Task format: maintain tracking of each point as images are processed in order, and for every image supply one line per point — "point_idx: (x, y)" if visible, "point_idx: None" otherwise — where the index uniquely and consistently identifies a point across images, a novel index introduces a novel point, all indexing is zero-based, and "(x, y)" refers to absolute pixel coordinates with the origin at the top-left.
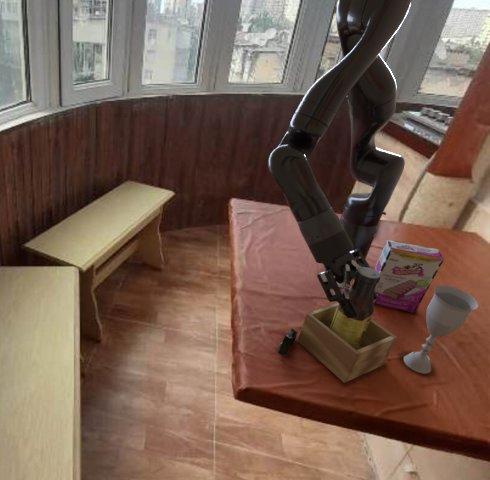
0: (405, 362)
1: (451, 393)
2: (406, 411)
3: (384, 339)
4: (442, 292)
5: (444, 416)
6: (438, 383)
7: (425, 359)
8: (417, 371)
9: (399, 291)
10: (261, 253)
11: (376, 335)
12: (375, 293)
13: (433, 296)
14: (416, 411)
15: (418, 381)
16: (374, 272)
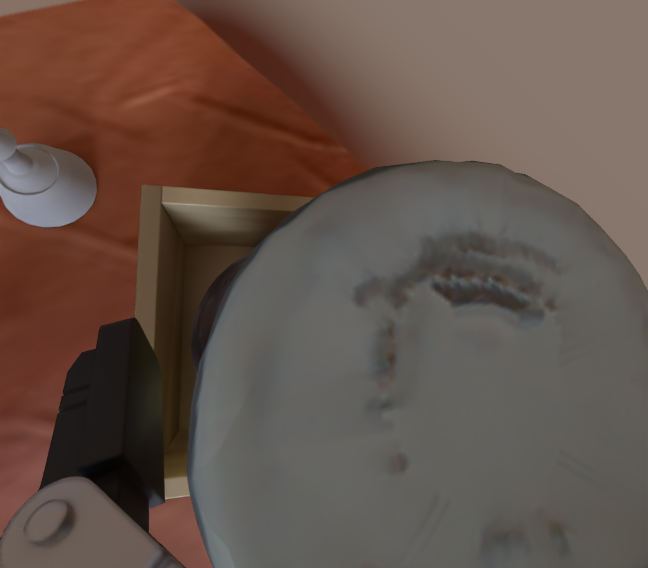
0: (87, 208)
1: (79, 76)
2: (270, 116)
3: (215, 202)
4: None
5: (190, 58)
6: (74, 113)
7: (34, 152)
8: (90, 168)
9: None
10: None
11: (169, 268)
12: (101, 349)
13: None
14: (245, 103)
15: (130, 148)
16: (354, 368)
